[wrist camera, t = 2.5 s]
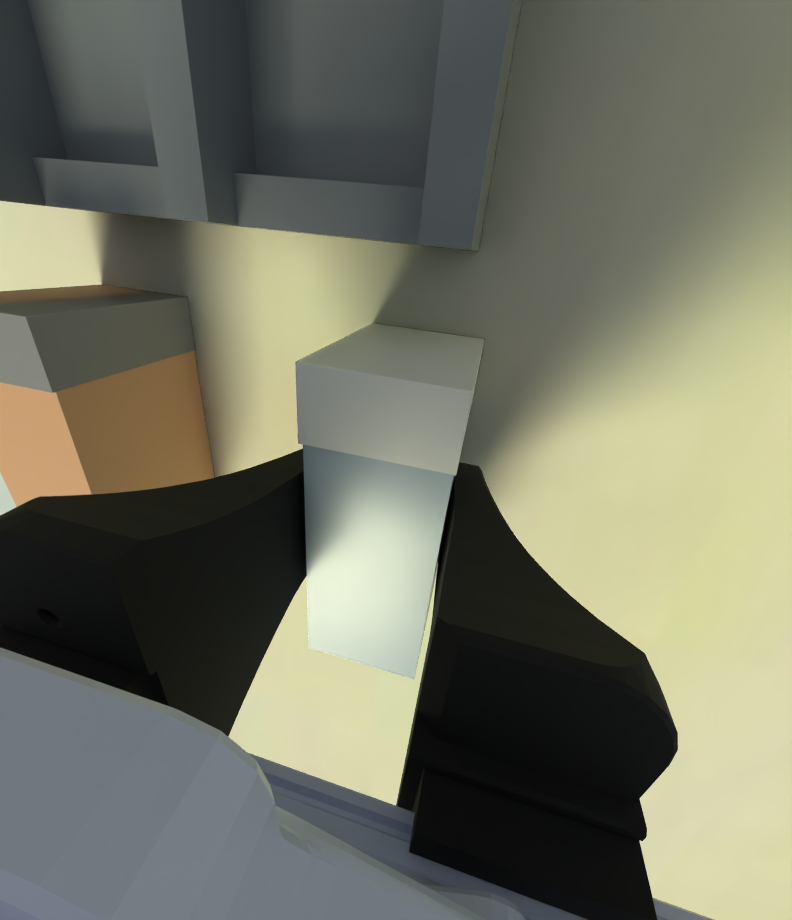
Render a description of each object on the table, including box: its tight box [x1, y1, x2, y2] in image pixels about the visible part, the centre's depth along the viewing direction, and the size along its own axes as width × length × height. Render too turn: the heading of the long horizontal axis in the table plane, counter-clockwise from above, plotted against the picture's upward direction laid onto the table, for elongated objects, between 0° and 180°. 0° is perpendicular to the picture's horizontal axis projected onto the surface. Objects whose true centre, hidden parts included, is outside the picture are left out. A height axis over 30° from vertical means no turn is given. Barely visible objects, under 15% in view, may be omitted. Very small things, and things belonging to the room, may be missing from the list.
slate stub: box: [295, 323, 485, 679], centre depth 10 cm, size 3×8×5 cm, turn 175°
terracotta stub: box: [0, 285, 215, 507], centre depth 12 cm, size 3×8×5 cm, turn 175°
